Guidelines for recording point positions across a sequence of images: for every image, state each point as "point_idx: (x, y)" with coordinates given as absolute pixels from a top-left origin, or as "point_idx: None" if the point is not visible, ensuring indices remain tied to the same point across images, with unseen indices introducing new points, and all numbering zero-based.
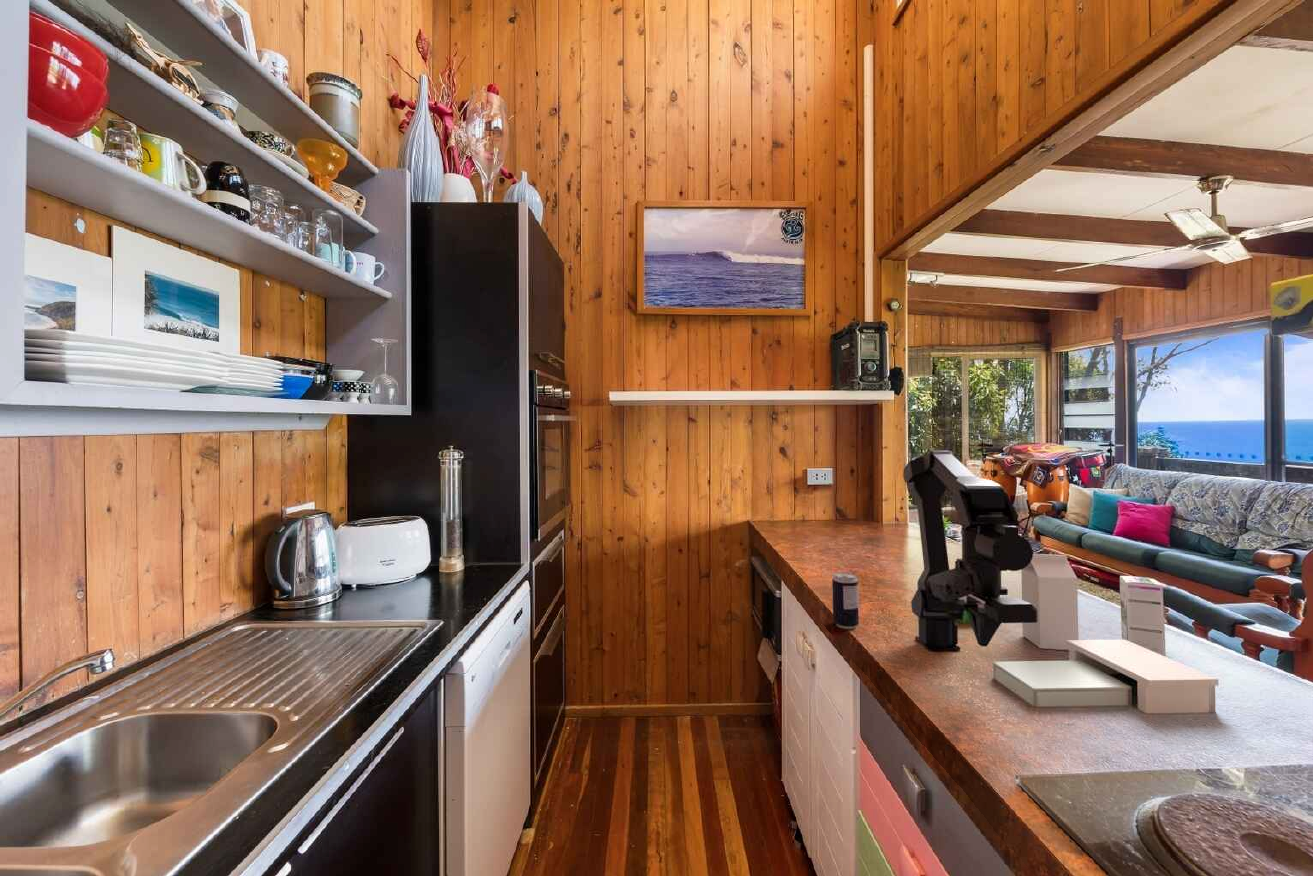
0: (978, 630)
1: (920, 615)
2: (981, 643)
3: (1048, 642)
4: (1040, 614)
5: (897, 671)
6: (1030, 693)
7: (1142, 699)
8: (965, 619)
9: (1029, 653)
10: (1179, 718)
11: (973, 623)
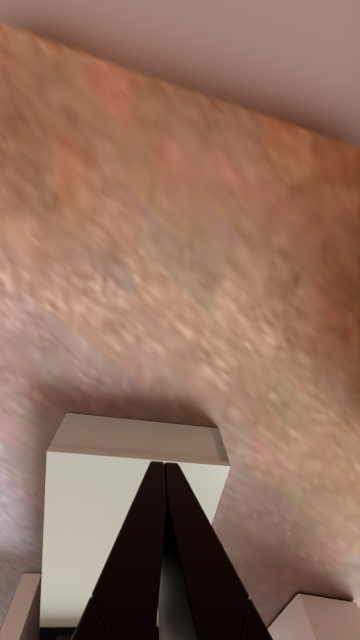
0: (138, 568)
1: None
2: (145, 475)
3: (296, 622)
4: None
5: (355, 181)
6: (68, 435)
7: (19, 606)
8: None
9: (290, 565)
10: (5, 600)
11: (208, 631)
